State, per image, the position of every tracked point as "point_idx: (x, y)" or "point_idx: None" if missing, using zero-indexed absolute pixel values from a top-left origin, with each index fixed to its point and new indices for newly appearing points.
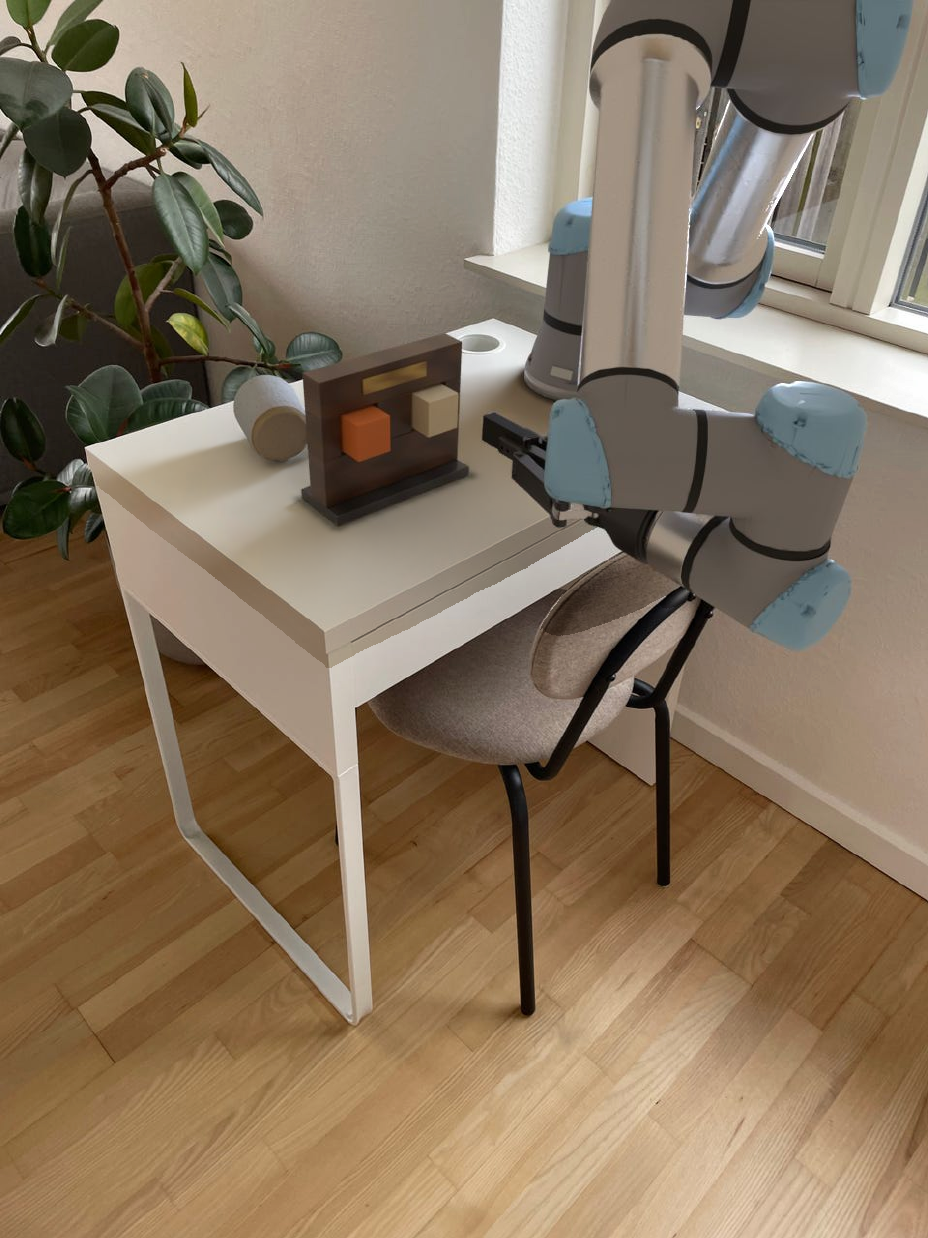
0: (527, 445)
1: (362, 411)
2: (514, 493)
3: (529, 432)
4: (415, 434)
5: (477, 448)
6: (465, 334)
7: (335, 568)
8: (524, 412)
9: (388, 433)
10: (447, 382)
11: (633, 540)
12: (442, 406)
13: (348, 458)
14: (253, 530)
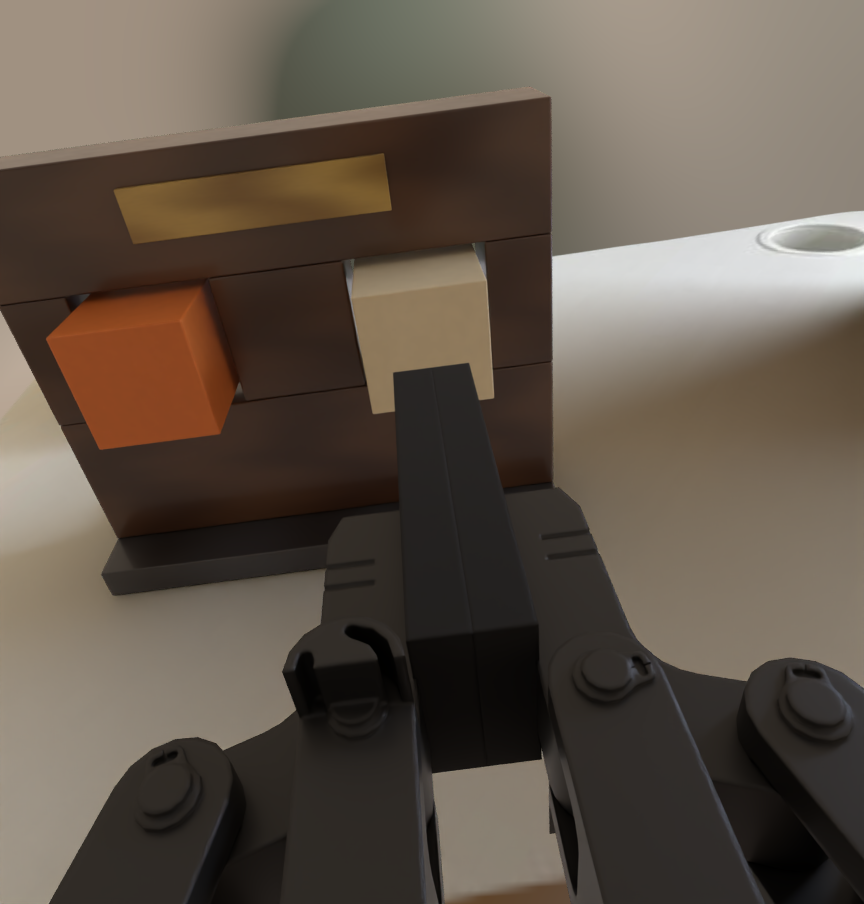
0: (333, 704)
1: (144, 298)
2: (660, 659)
3: (503, 554)
4: None
5: (654, 458)
6: (802, 223)
7: None
8: (853, 385)
9: (192, 379)
10: (492, 247)
11: None
12: (416, 319)
13: None
14: None
